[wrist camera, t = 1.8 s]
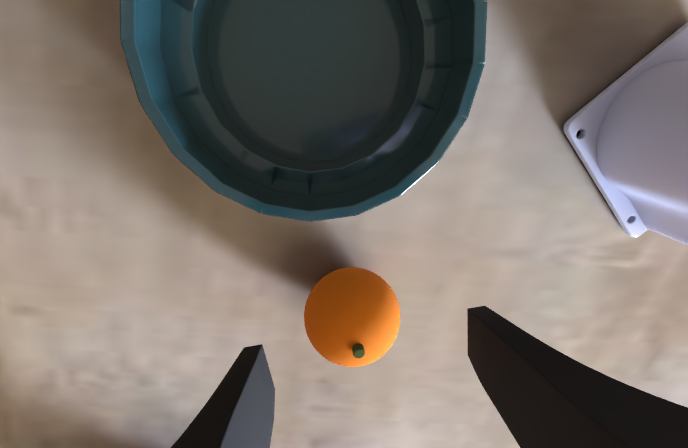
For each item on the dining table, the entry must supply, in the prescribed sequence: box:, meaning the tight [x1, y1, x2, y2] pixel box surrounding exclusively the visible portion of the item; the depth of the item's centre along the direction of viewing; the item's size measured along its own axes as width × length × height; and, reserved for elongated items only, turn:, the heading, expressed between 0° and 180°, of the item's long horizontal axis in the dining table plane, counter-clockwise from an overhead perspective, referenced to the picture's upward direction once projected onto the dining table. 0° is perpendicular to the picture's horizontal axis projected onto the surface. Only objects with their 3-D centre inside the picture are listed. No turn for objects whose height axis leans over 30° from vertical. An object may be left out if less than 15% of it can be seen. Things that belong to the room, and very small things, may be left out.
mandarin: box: [304, 267, 400, 367], centre depth 19 cm, size 5×5×6 cm
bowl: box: [120, 0, 487, 221], centre depth 15 cm, size 13×13×5 cm
